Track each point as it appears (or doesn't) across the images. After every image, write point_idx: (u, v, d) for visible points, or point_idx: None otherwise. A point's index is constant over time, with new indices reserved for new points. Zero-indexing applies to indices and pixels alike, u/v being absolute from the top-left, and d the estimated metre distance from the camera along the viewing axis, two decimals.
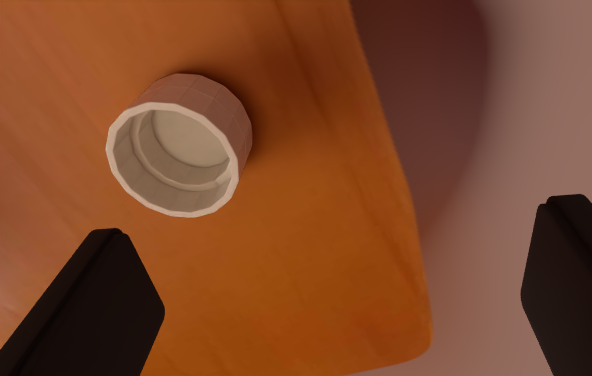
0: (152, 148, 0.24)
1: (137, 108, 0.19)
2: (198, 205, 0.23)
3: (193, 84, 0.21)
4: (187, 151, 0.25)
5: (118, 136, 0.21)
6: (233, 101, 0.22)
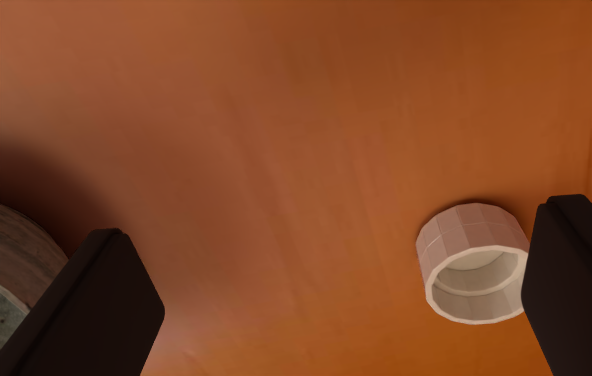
0: None
1: (484, 248, 0.23)
2: (477, 313, 0.27)
3: (506, 221, 0.25)
4: None
5: None
6: None
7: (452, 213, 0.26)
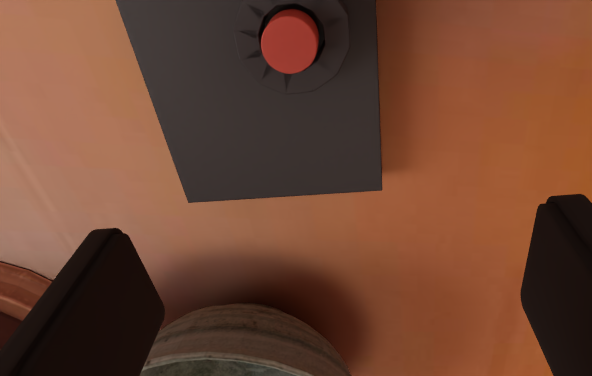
0: None
1: None
2: None
3: None
4: None
5: None
6: None
7: None
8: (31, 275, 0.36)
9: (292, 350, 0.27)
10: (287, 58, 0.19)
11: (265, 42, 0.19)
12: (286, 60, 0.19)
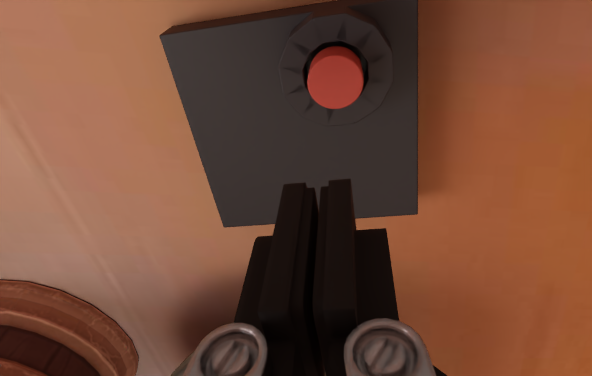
0: None
1: None
2: None
3: None
4: None
5: None
6: None
7: None
8: (64, 296, 0.37)
9: None
10: (333, 95, 0.19)
11: (312, 80, 0.19)
12: (332, 96, 0.19)
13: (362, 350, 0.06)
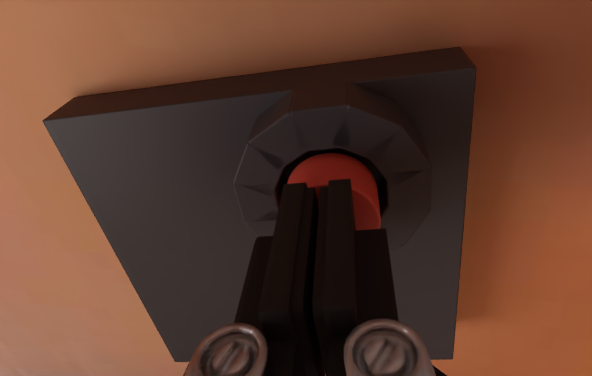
0: None
1: None
2: None
3: None
4: None
5: None
6: None
7: None
8: None
9: None
10: None
11: None
12: None
13: (362, 350, 0.06)
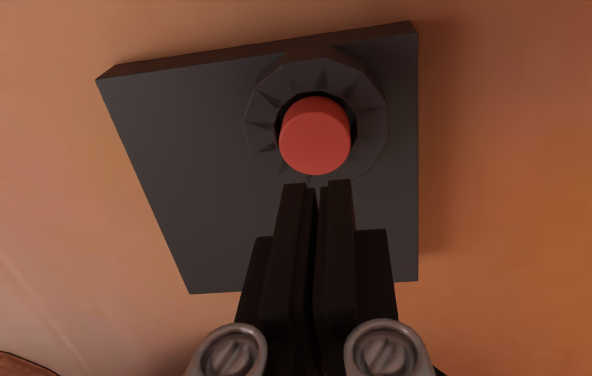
0: None
1: None
2: None
3: None
4: None
5: None
6: None
7: None
8: (13, 360, 0.32)
9: None
10: (312, 159, 0.15)
11: (284, 141, 0.15)
12: (311, 161, 0.15)
13: (362, 350, 0.06)
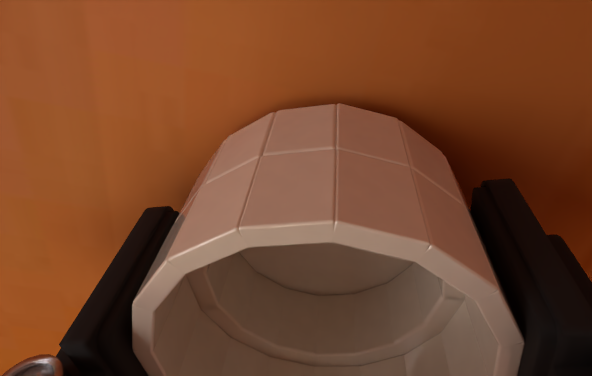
0: None
1: (381, 239, 0.06)
2: None
3: (459, 191, 0.08)
4: (272, 247, 0.11)
5: None
6: None
7: (320, 116, 0.08)
8: None
9: None
10: None
11: None
12: None
13: None
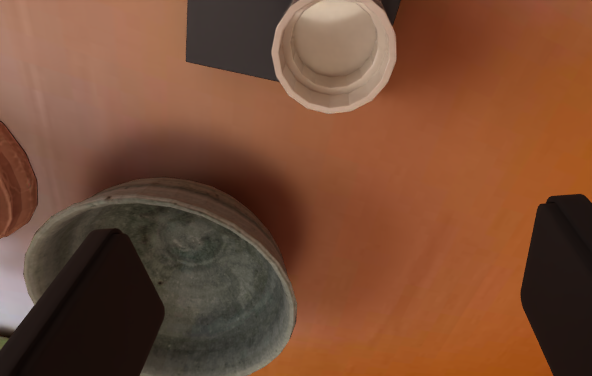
0: (294, 29, 0.25)
1: None
2: (315, 100, 0.25)
3: (381, 2, 0.23)
4: (311, 49, 0.27)
5: None
6: None
7: None
8: None
9: (248, 225, 0.29)
10: None
11: None
12: None
13: None
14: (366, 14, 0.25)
